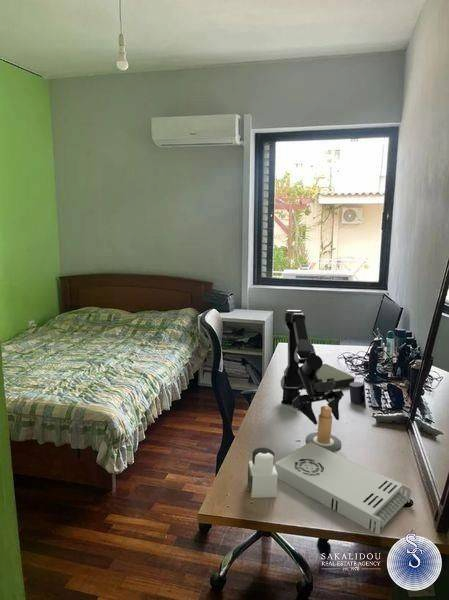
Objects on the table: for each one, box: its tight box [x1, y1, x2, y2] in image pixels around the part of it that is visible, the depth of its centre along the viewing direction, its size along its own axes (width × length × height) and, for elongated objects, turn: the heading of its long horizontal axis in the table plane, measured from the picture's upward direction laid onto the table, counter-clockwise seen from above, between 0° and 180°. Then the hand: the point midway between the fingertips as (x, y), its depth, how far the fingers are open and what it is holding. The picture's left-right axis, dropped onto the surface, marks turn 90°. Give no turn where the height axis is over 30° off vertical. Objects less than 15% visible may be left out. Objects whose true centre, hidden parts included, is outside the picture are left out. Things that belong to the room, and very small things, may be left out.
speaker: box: [349, 379, 367, 409], centre depth 180 cm, size 8×6×10 cm
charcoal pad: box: [305, 431, 342, 452], centre depth 147 cm, size 12×12×1 cm
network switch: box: [317, 363, 356, 390], centre depth 205 cm, size 23×24×5 cm
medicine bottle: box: [247, 447, 278, 499], centre depth 119 cm, size 7×7×12 cm
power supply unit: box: [274, 442, 412, 536], centre depth 122 cm, size 19×33×5 cm, turn 45°
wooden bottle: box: [316, 405, 333, 444], centre depth 146 cm, size 4×4×12 cm
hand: (327, 422), depth 145 cm, fingers open, 9 cm apart
